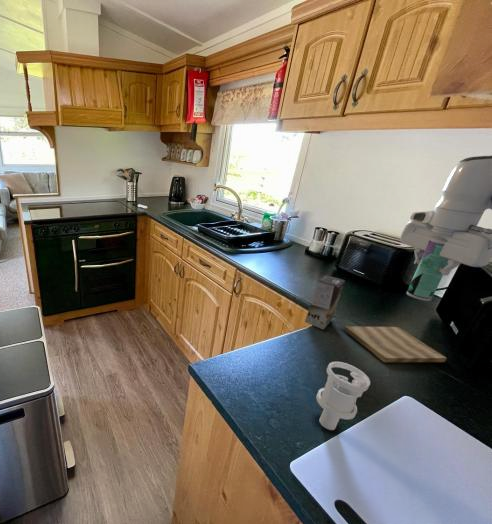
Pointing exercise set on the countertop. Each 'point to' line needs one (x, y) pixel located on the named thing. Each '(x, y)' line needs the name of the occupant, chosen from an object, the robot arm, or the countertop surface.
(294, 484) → the countertop surface
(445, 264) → the spray can
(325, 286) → the coffee box
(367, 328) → the chopping board
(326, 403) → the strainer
